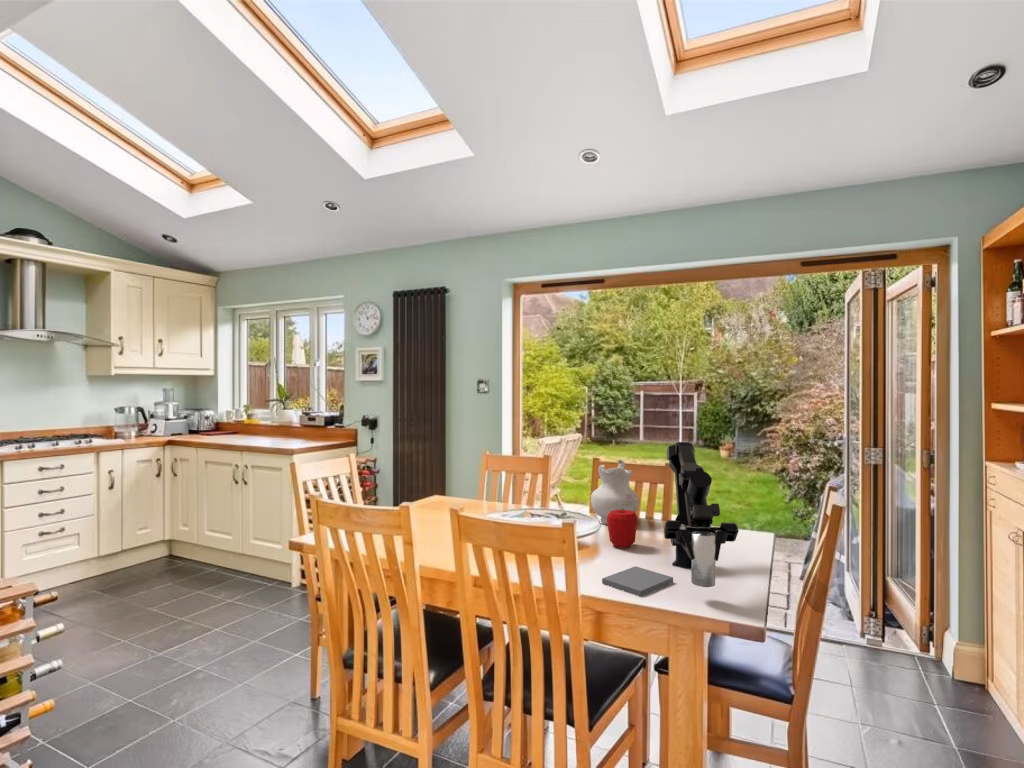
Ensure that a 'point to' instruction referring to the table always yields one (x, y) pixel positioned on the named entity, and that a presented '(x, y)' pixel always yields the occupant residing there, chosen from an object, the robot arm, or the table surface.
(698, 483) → the robot arm
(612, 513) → the apple
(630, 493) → the ceramic pitcher
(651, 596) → the table surface
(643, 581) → the base plate
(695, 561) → the silver metal cylinder
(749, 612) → the table surface
